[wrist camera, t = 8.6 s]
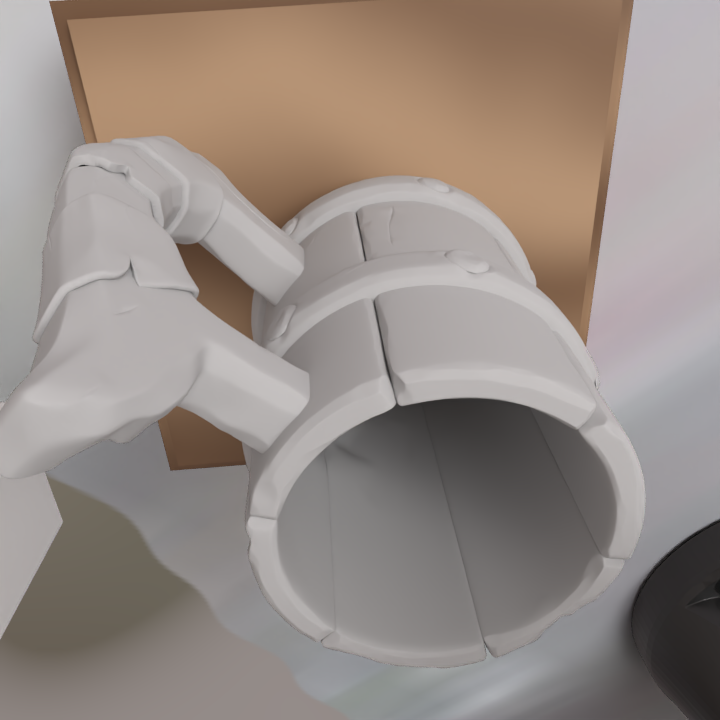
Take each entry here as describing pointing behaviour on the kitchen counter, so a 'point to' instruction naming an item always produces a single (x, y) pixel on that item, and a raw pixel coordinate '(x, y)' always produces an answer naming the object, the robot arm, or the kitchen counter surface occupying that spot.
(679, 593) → the robot arm
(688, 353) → the kitchen counter surface
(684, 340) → the kitchen counter surface
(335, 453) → the mug
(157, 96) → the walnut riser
